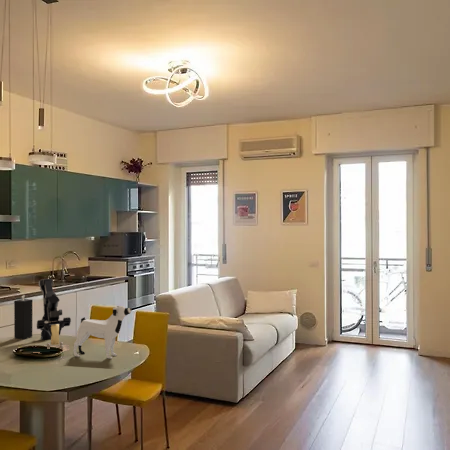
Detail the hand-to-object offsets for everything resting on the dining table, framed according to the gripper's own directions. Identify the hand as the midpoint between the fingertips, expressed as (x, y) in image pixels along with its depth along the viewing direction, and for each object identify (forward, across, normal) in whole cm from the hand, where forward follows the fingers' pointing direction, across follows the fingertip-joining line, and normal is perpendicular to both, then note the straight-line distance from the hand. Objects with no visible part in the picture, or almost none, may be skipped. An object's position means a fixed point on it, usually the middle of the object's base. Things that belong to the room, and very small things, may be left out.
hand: (55, 335), depth 270 cm
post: (+3, 0, +5) cm, 6 cm away
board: (+5, -5, +8) cm, 11 cm away
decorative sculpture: (+24, +22, -11) cm, 34 cm away
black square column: (-24, -14, +38) cm, 47 cm away
